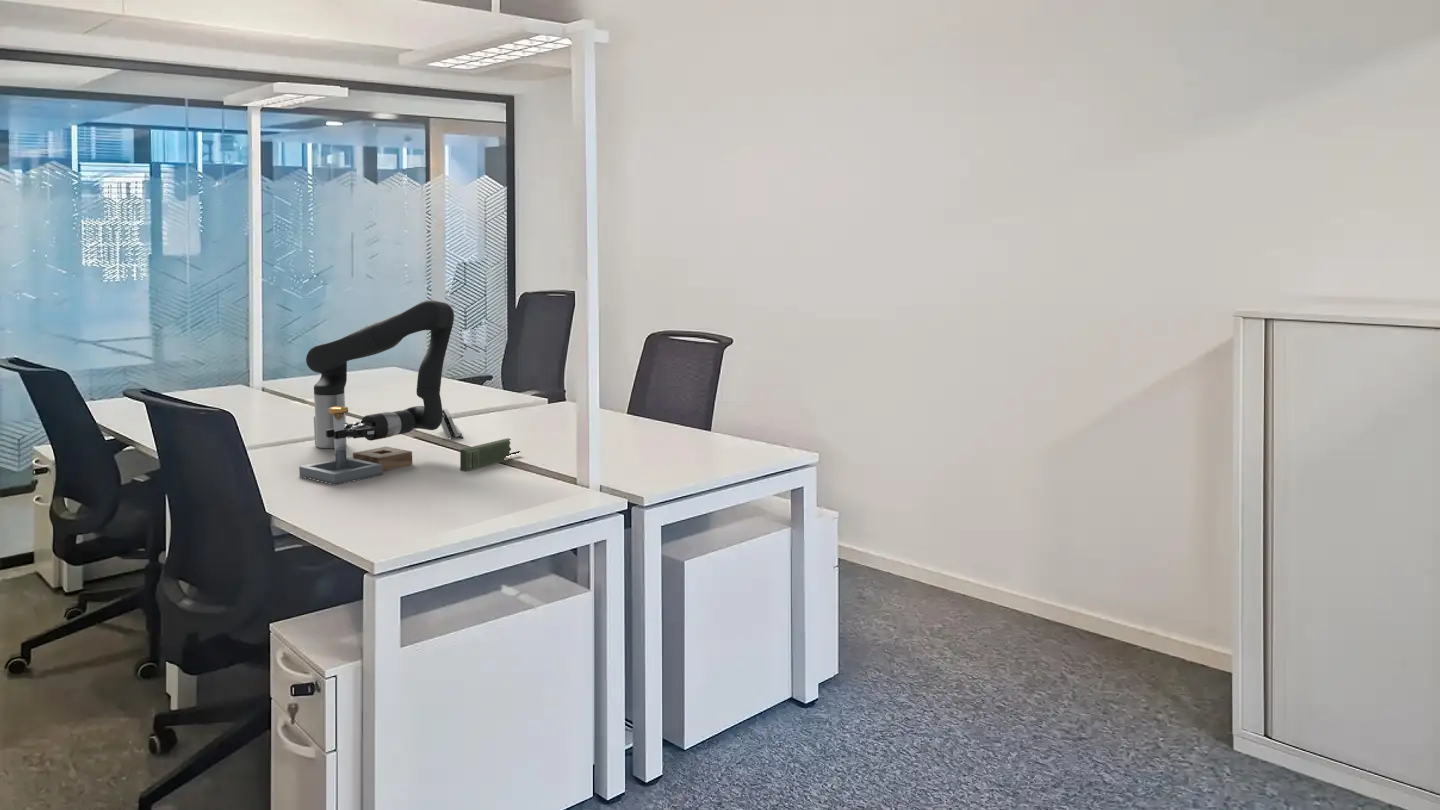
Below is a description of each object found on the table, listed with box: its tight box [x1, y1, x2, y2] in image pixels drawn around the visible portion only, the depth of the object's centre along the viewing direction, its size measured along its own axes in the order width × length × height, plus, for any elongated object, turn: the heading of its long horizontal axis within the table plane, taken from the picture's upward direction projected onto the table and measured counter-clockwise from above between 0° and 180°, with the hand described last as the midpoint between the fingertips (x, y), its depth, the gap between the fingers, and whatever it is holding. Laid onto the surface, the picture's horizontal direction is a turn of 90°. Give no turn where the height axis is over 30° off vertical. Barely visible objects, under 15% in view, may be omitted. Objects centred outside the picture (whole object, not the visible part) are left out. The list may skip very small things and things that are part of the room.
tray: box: [298, 456, 384, 485], centre depth 305 cm, size 16×16×3 cm
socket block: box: [352, 446, 413, 472], centre depth 319 cm, size 12×12×4 cm
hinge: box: [440, 408, 463, 439], centre depth 368 cm, size 17×5×10 cm, turn 20°
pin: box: [329, 406, 349, 469], centre depth 304 cm, size 5×5×17 cm
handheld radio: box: [459, 438, 521, 472], centre depth 324 cm, size 7×3×25 cm
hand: (330, 434), depth 301 cm, fingers closed on pin, 3 cm apart
